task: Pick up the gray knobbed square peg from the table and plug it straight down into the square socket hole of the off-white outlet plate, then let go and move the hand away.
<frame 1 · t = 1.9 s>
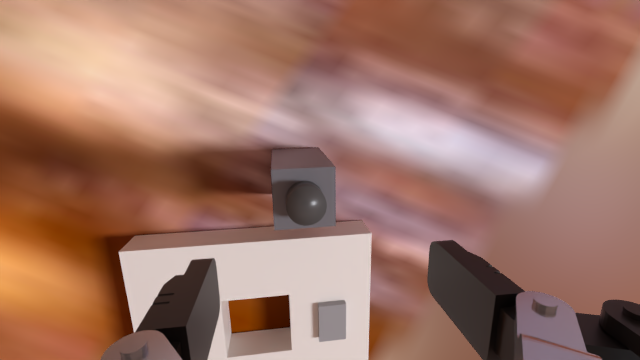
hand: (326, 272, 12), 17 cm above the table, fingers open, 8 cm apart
gray knobbed square peg: (296, 171, 28), on the table
socket plate: (259, 305, 31), on the table
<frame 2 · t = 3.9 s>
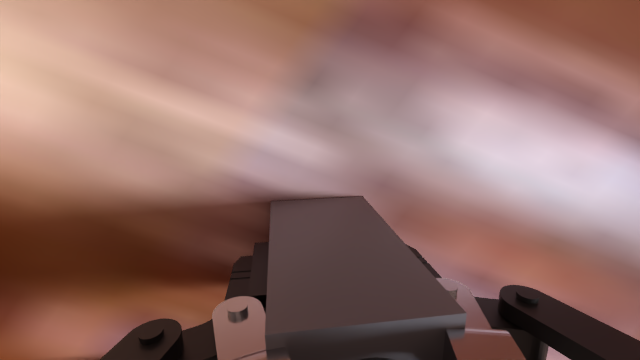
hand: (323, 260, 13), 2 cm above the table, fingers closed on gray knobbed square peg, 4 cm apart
gray knobbed square peg: (318, 241, 14), on the table, touching gripper
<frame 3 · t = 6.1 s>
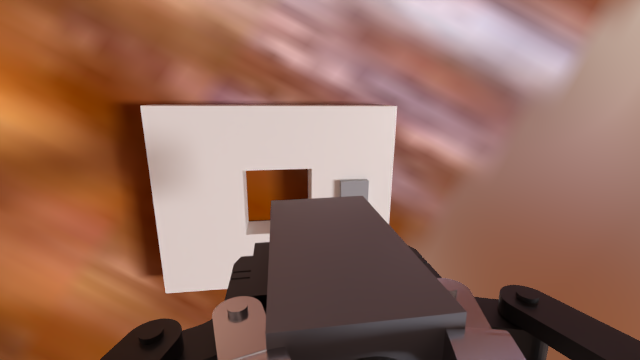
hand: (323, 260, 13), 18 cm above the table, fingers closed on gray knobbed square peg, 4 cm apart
gray knobbed square peg: (318, 240, 14), point 16 cm above the table, touching gripper
socket plate: (277, 191, 30), on the table
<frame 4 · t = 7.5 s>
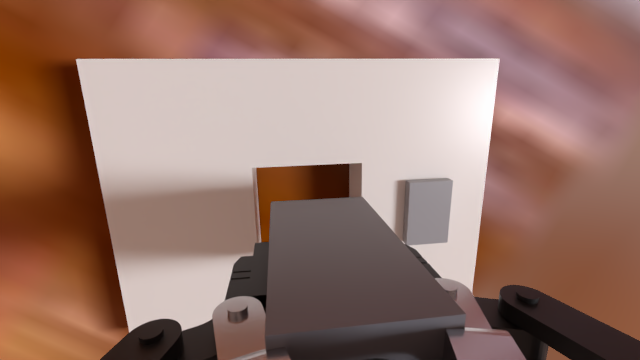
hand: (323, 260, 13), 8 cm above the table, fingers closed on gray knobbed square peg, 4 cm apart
gray knobbed square peg: (318, 241, 14), point 6 cm above the table, touching gripper
socket plate: (304, 200, 20), on the table
when the fingers open (4 cm above the table, at t = 8.5 s): gray knobbed square peg drops 2 cm, resting in socket plate.
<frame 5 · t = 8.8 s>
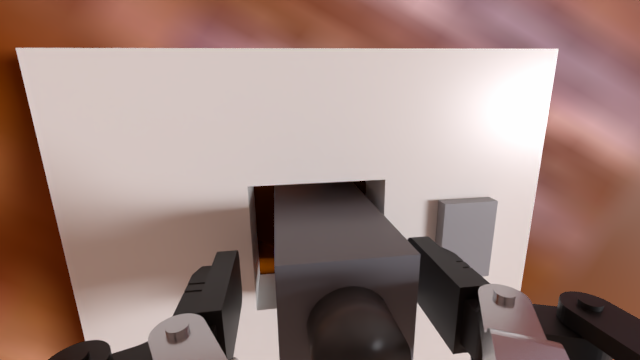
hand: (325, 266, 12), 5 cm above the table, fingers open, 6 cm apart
gray knobbed square peg: (314, 220, 17), resting in socket plate
socket plate: (311, 221, 17), on the table
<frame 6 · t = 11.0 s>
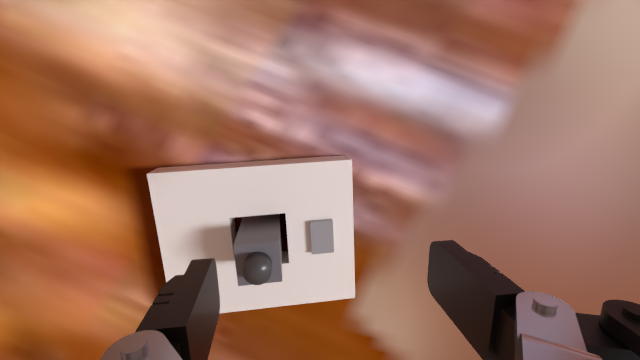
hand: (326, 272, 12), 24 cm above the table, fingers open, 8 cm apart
gray knobbed square peg: (262, 229, 36), resting in socket plate
socket plate: (261, 230, 36), on the table
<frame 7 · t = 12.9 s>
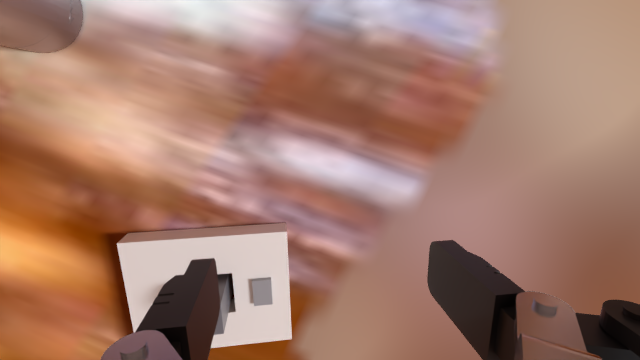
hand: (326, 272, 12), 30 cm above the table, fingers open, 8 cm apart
gray knobbed square peg: (216, 281, 44), resting in socket plate
socket plate: (215, 282, 44), on the table
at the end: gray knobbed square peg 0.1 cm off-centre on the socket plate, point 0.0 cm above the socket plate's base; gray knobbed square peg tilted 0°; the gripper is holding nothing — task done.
